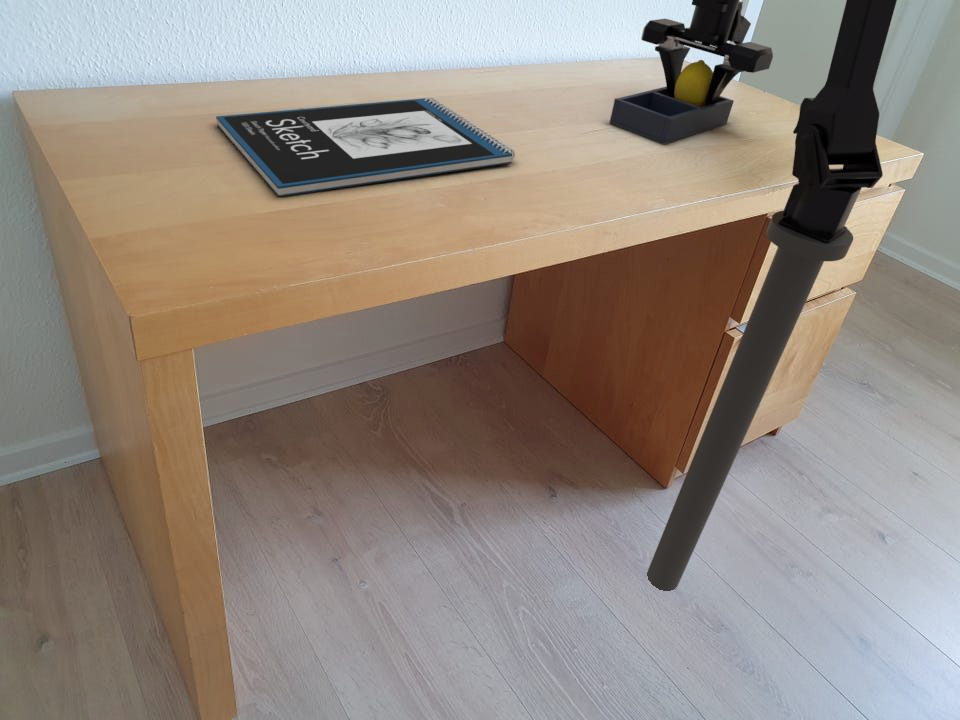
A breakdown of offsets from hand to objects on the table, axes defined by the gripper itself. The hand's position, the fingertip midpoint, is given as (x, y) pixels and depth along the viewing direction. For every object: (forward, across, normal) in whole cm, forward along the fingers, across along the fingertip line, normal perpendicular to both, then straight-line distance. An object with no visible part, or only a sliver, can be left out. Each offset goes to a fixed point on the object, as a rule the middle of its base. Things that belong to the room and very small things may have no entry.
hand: (688, 103), depth 110 cm
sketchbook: (+3, +15, +50) cm, 53 cm away
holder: (+2, 0, +4) cm, 5 cm away
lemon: (+2, 0, 0) cm, 2 cm away
